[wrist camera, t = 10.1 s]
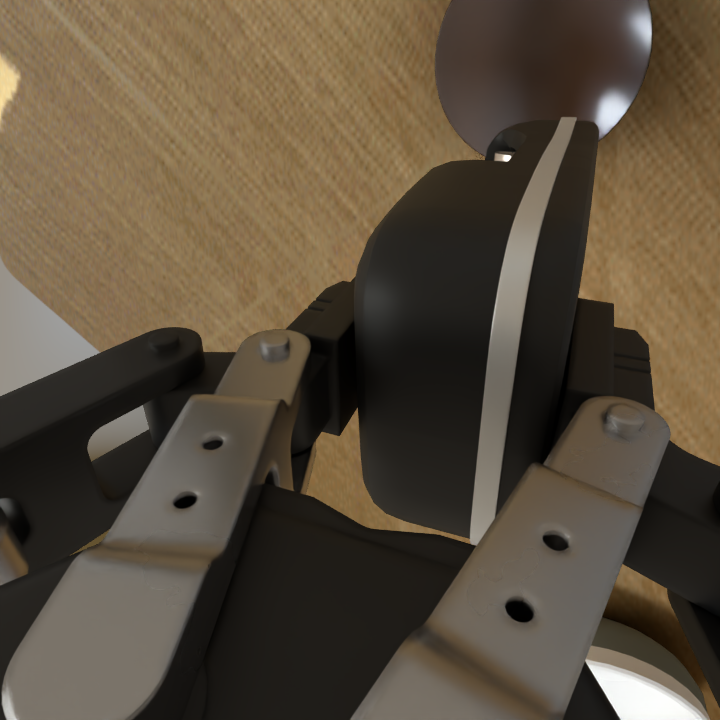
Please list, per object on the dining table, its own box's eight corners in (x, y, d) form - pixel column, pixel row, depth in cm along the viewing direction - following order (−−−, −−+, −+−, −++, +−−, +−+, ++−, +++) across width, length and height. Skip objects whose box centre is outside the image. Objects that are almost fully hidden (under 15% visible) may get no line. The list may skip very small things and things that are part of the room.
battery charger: (470, 106, 17) (310, 227, 8) (603, 109, 16) (587, 254, 7) (457, 310, 21) (337, 545, 12) (564, 324, 20) (520, 599, 11)
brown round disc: (679, -68, 27) (684, -74, 25) (619, 164, 33) (619, 177, 31) (457, -63, 30) (443, -68, 28) (439, 147, 36) (427, 158, 34)
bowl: (527, 553, 52) (515, 631, 46) (748, 628, 47) (768, 727, 41) (489, 655, 63) (474, 730, 57) (666, 726, 58) (672, 817, 52)
